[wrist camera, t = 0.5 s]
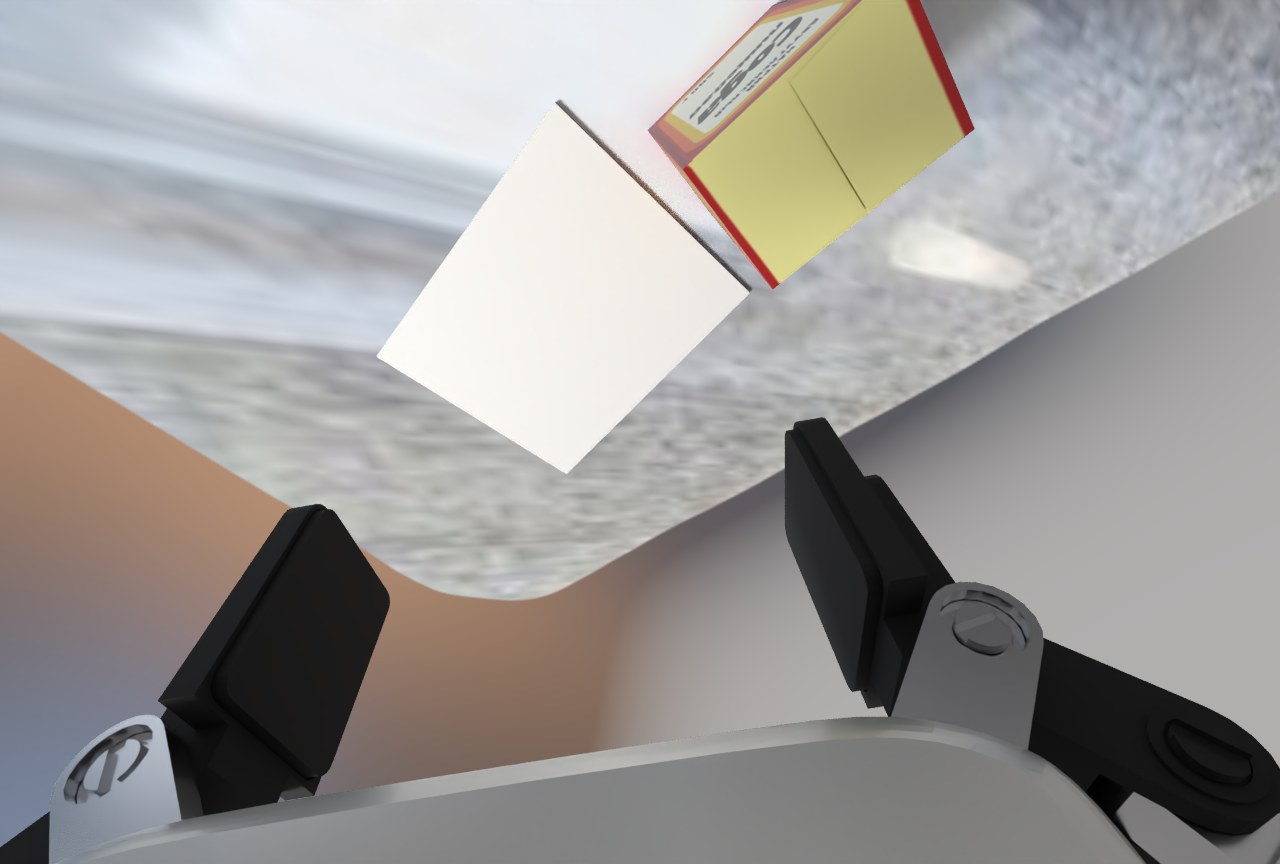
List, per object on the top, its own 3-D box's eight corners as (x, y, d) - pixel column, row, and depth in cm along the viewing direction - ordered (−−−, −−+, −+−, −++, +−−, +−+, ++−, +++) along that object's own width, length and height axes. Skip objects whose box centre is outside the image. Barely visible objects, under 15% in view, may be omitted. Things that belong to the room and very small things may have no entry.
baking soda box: (709, 211, 37) (775, 292, 24) (647, 130, 34) (683, 170, 21) (828, 105, 34) (980, 129, 21) (772, 5, 31) (908, -41, 18)
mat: (555, 102, 33) (554, 102, 32) (748, 291, 40) (749, 292, 40) (378, 354, 41) (376, 356, 41) (566, 471, 49) (566, 473, 48)
